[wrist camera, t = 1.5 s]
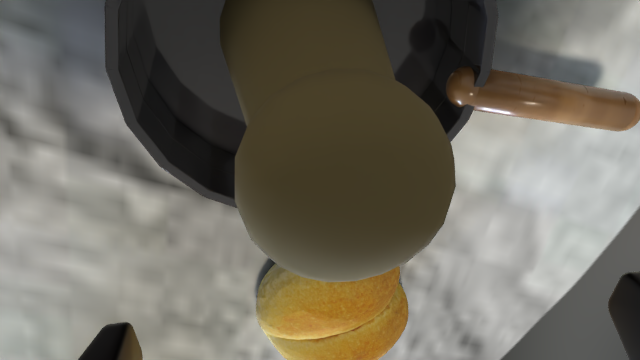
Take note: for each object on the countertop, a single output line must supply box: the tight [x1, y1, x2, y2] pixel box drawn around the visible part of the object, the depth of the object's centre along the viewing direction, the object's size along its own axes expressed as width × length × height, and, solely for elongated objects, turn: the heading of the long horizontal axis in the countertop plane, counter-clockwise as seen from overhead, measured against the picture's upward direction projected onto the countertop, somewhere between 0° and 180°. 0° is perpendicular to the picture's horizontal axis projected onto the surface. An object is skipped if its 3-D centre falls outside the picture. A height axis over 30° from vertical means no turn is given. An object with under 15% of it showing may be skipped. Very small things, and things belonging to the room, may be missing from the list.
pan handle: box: [446, 66, 640, 131], centre depth 20 cm, size 9×2×2 cm, turn 76°
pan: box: [105, 0, 498, 208], centre depth 18 cm, size 13×13×4 cm
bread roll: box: [256, 263, 408, 360], centre depth 27 cm, size 8×9×4 cm
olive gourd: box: [220, 0, 456, 282], centre depth 15 cm, size 6×6×11 cm
